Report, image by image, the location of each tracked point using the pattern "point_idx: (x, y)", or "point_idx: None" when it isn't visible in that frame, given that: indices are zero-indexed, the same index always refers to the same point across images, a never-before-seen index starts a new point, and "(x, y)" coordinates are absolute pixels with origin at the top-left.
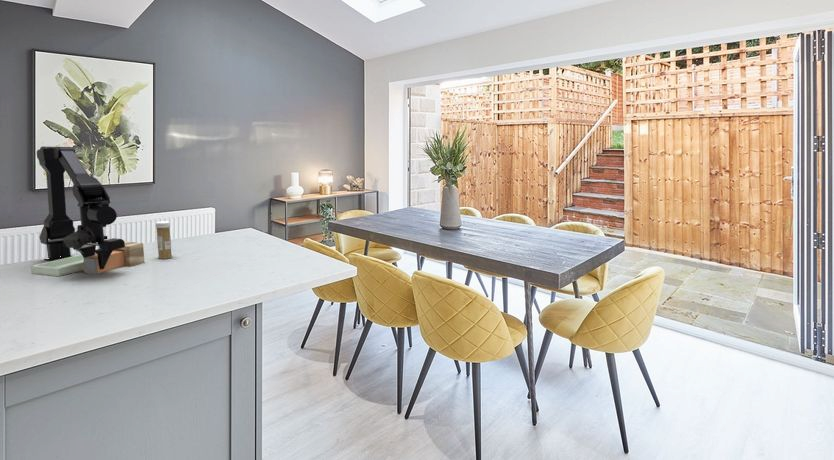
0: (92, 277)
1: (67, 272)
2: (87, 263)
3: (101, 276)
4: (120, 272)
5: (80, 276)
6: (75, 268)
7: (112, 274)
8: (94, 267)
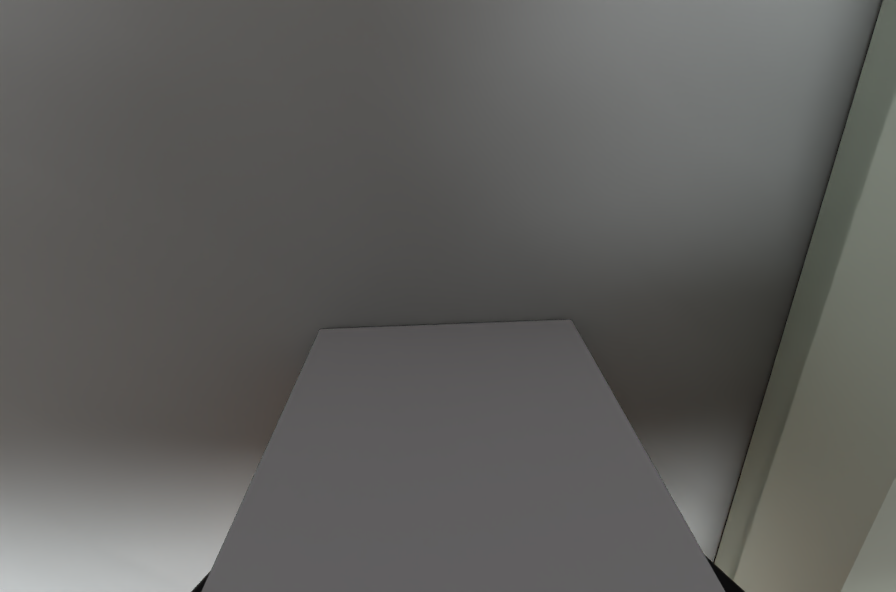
0: (96, 125)
1: (882, 132)
2: (513, 480)
3: (29, 254)
4: (60, 527)
5: (422, 90)
6: (849, 346)
7: (24, 416)
8: (285, 422)
